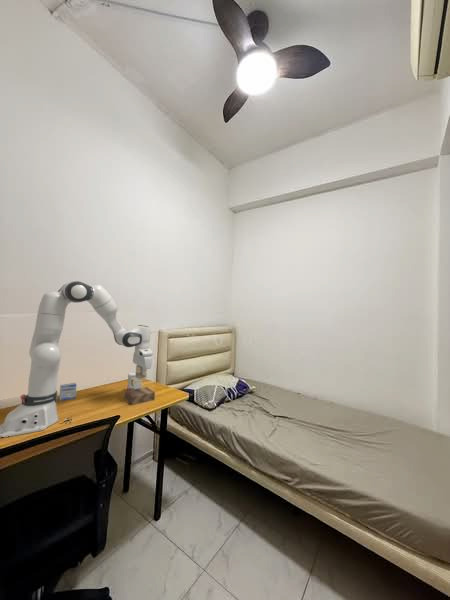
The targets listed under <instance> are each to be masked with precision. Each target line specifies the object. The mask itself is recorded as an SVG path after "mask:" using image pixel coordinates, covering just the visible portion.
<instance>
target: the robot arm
mask: <svg viewBox="0 0 450 600" xmlns="http://www.w3.org/2000/svg"><path fill="white" fill-rule="evenodd" d="M82 302H88V303H89V304H90V306H92V308H93V309H94V311H95V312H96V313H97V315H99V316H100V317H101V319H102V320H104V321H105V322H106V324H107V326H108V327H109V329H110V330H111V332H112V334H113V337H114V342H115V343H116V344H117V345H119V346H122V347H126V348H133V347H134V352H133V355H132V356H133V357H132V363H133V364H135V365H136V366H137V365H138V366H140V367H142V369H143V370H142V373H141V374H143V375H144V374H145V371H146V369H147V370H148V369H151V368H152V364H153V355H154V353H153V350H151V346H150V345H151V344H150V341H151V329H150V327H149V326H148V325H143V324H138V325H136V326H135V327H133V328H131V329H130V330H128V329H126V328H124V327H123V325H122V324H121V322H120V320H119V319H118V317H117V312H118V305H117V303H116V302H115V299H114V298H113V297H112V295H111V294H110V293H109V292H108V291H107V289H106V288H104V287H103V285H100V284H93V285H91V286H90V285H89V284H87V283H84V282H82V281H78V280H76V281H69V282H67V283H65V284H63V285H62V286H61V287H60V288H59V290H58V291H48V292H45V293H44V294H43V296H42V298H41V301H40V303H39V305H38V309H37V314H36V321H35V325H34V326H35V327H34V330H33V335H32V339H31V343H30V347H29V352H28V354H29V357H30V360H31V363H30V372H29V376H28V387H27V394H21V395H20V400H21V404H20V405H18V406H17V407H16V408H14V409H12V410H11V411H9V413H8V414H7V415H6V417H5V419H4V421H3V422H2V423H1V424H0V438H1V437H4V438H8V436H9V437H14V436H18V435H19V436H20V435H25V434H29V433H35V432H40V431H41V432H42V431H44V430H46V429H48V428H49V427H50V426H52V425H54V424H55V423H57V422H58V421H59V416H58V409H57V402H58V390H57V389H58V387H57V386H58V373H59V369H60V364H61V357H62V351H61V349H60V347H59V341H60V338H61V336H62V332H63V329H64V324H65V323H64V322H65V319H66V312H67V311H66V310H67V308H68V305H69V304H71V303H74V304H75V303H82Z"/></svg>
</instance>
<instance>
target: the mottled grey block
mask: <svg viewBox="0 0 450 600" xmlns="http://www.w3.org/2000/svg"><path fill="white" fill-rule="evenodd" d="M142 370H143V369H142V367H140V366H138V365H137V364H136V365H135V373H136V377H137V378H138V379H141V378H142V379H146V378H147V373H148V369H146V371H145V374H144V375H143V374H141V373H142Z"/></svg>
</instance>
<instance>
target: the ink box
mask: <svg viewBox="0 0 450 600" xmlns="http://www.w3.org/2000/svg"><path fill="white" fill-rule="evenodd" d="M126 386H127V389H126V391H129V390H134V389H139V388H143V378H141V379H138V378H137V377H136V372H129V373H128V375H127V385H126Z"/></svg>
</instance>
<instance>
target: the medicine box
mask: <svg viewBox="0 0 450 600" xmlns="http://www.w3.org/2000/svg"><path fill="white" fill-rule="evenodd" d="M76 397H77V383H76V382H70V383H64V384H63V383H62V384H60V386H59V401H60V402H63V401H64V402H65V401H68V400H69V401H70V400H74V399H76Z"/></svg>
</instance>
